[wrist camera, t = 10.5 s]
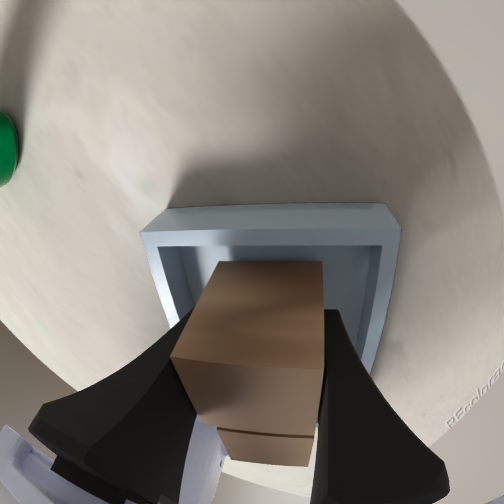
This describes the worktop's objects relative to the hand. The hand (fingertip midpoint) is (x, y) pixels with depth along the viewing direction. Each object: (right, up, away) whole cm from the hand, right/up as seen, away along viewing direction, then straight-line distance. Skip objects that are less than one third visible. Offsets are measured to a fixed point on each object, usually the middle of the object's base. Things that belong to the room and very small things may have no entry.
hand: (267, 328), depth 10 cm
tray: (+1, -1, +4) cm, 4 cm away
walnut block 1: (0, +1, +2) cm, 2 cm away
